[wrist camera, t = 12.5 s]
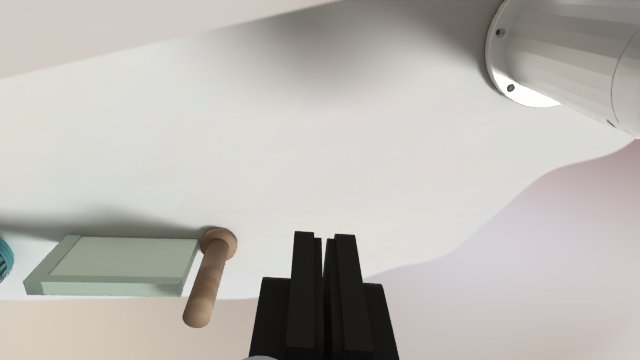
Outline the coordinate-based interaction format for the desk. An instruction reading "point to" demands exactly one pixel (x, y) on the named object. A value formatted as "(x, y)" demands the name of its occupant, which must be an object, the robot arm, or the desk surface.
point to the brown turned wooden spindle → (209, 275)
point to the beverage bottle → (5, 259)
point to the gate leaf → (114, 267)
